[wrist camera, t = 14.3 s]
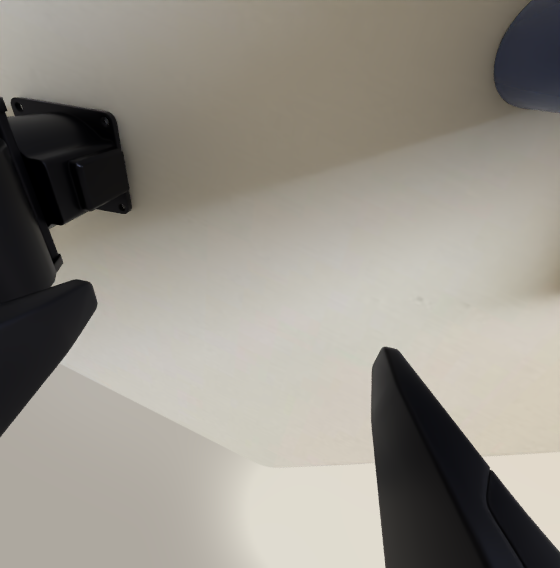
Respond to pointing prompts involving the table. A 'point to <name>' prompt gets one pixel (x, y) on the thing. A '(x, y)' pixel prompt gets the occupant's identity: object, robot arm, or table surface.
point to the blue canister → (531, 58)
